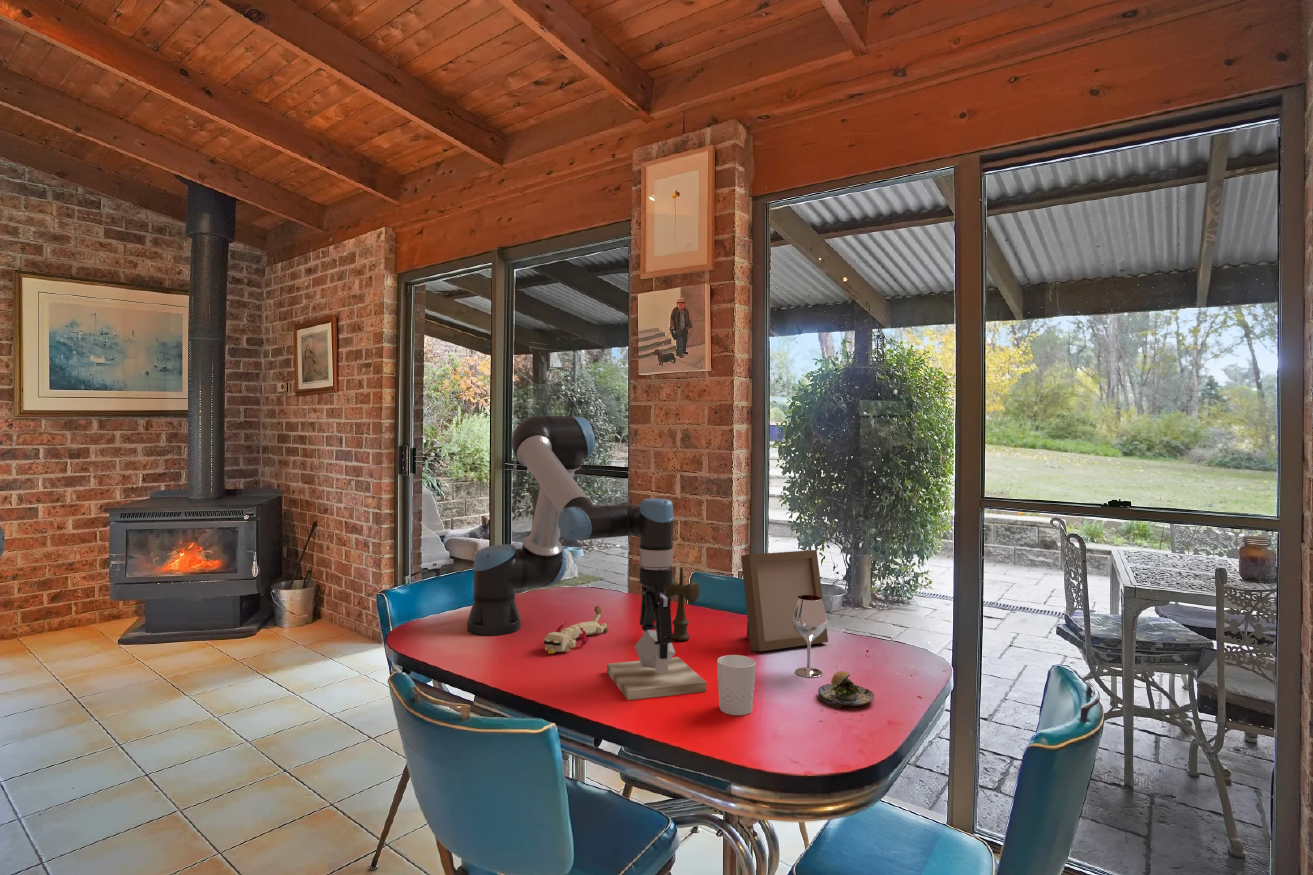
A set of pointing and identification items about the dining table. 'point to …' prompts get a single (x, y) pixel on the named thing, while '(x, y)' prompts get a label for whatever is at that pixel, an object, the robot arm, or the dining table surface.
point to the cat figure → (574, 634)
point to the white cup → (736, 684)
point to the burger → (843, 692)
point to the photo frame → (778, 596)
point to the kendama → (682, 604)
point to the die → (650, 649)
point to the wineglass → (809, 626)
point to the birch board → (655, 679)
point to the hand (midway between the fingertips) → (654, 665)
